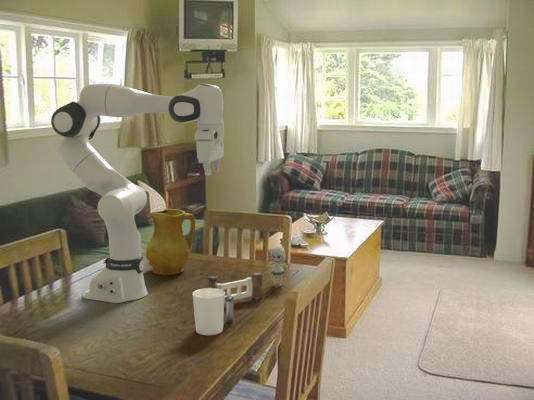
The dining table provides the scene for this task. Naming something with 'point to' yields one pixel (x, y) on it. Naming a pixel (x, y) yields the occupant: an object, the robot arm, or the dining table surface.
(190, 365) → the dining table surface
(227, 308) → the post
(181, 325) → the dining table surface
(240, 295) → the gate
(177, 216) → the pitcher
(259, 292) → the fence post
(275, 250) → the figurine
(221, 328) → the candle holder
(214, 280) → the hinge post
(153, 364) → the dining table surface
